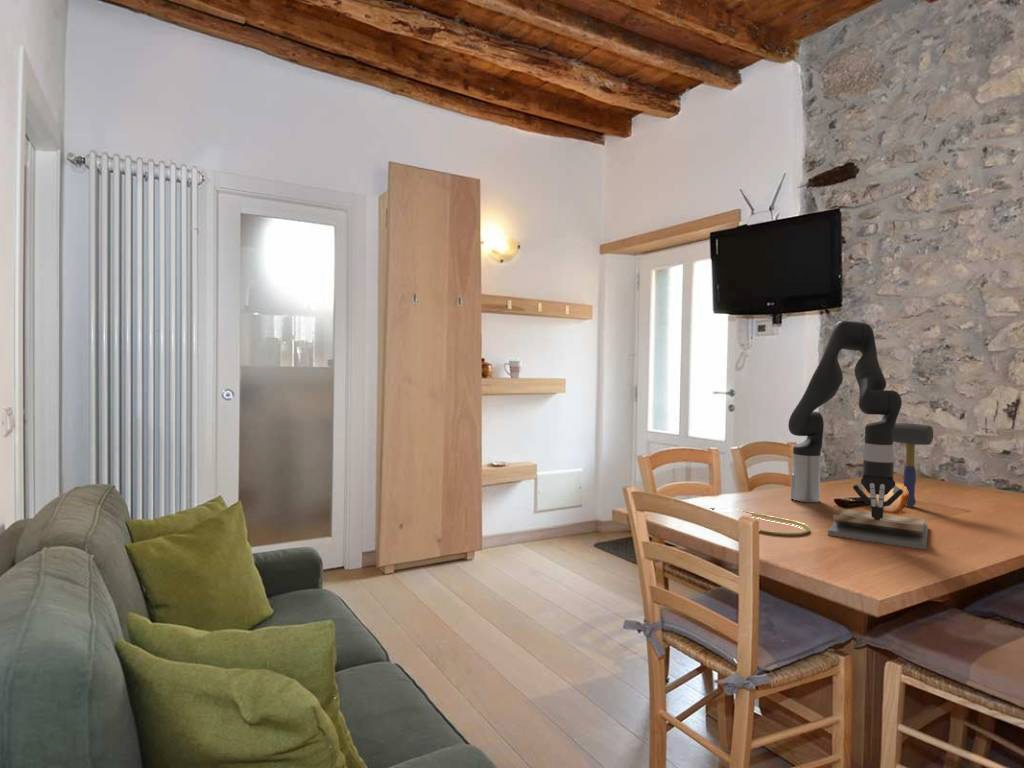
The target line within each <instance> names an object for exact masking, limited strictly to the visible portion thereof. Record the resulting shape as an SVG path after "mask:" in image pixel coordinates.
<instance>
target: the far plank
mask: <svg viewBox="0 0 1024 768" xmlns="http://www.w3.org/2000/svg"><path fill="white" fill-rule="evenodd" d="M840 512H841V513H839V514H845V515H853V516H861V517H868V518H873V517H872V516H871V512H869V511H860V510H853V509H845V508H843V509H842V510H841V511H840ZM880 519H881V518H880ZM882 519H883V520H891V521H899V522H906V523H914V524H922V525H923V528H924V523H925V519H923V518H915V517H908V516H902V515H901V516H900V515H893V514H886V513H885V514H884V513H883V518H882Z"/></svg>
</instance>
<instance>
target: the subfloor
mask: <svg viewBox="0 0 1024 768" xmlns="http://www.w3.org/2000/svg"><path fill="white" fill-rule="evenodd" d="M841 512H842V511H840V513H841ZM840 513H839V514H838V515H845V514H840ZM845 516H853V515H845ZM853 517H860V518H868V517H861V516H853ZM868 519H874V518H868ZM880 520H883V519H880ZM883 521H891V520H883ZM891 522H898V523H906V522H899V521H891ZM906 524H913V525H921V526H923V525H922V524H914V523H906ZM928 524H929V523H926V522H924V528H923V536H921V535H914V534H907V533H900V532H892V531H885V530H878V529H871V528H864V527H857V526H850V525H842V524H836V523H835V521H834V520H833V523H832V524H831V526H830V527H829V528H828V530H827V536H829V537H836V536H838V537H837V538H843V537H845V539H849V538H852V540H856V539H858V540H857V541H863V542H864V541H865V542H869V541H871V542H870V543H876V542H878V543H877V544H883V543H884V544H883V545H889V546H896V545H897V547H903V546H906V547H905V548H909V547H912V548H911V549H916V548H918V549H917V550H922V549H925V550H924V551H927V544H928V543H927V542H928V529H929V528H928V527H929V525H928Z"/></svg>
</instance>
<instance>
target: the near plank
mask: <svg viewBox="0 0 1024 768" xmlns="http://www.w3.org/2000/svg"><path fill="white" fill-rule="evenodd" d="M832 518H833V519H832V520H833V522H834V521H835V523H836V524H842V525H850V526H857V527H864V528H871V529H878V530H885V531H892V532H900V533H907V534H914V535H921V536H923V526H921V525H913V524H906V523H898V522H891V521H883V520H875V519H868V518H860V517H853V516H845V515H839V514H836V513H833V515H832Z"/></svg>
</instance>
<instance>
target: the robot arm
mask: <svg viewBox="0 0 1024 768" xmlns="http://www.w3.org/2000/svg"><path fill="white" fill-rule="evenodd" d="M842 350H845V351H846V350H848V351H855V352H856V351H858V352H860V353H861V357H860V358H859V359H858V361H857V362H856V363H855V365H854V366H855V367H854V377H855V379H856V381H857V384H858V387H859V388H858V390H859V396H858V397H859V398H858V408H859V409H860V410H861V411H860V412H862V413H863V414H866V415H875V416H876V415H877V416H878V415H879V416H881V415H882V416H883V417H882V418H881V420H880V421H874V422H870V423H867V424H866V425H865V427H864V446H863V455H862V460H863V463H862V466H863V467H862V468H863V469H862V477H861V479H860V482H858V483H857V484H854V485H853V487H852V488H853V490H854V492H856V494H857V495H858V496H859V498H860V499H861V500H862V502H863V503H865V504H866V505H870V506H871V509H870V510H871V512H870V513H871V516H872V517H873V518H874V519H875V520H880V518H881V519H882V518H883V514H884V508H885V507H889V506H891V505H892V504H893V503H894V502H895V501H896V500H897V499H898V498H899V497H901V496H902V495H903V494H904V488H903V489H902V488H900V487H899V486H897V484H896V481H895V480H894V472H895V471H894V466H895V465H894V464H895V463H894V462H895V450H894V442H893V432H894V427H895V423H897V419H898V417H899V414H900V412H901V409H902V398H901V395H900V394H899V392H897V391H895V390H892V389H891V390H886V387H887V381H886V378H885V376H884V374H883V373H884V372H883V371H882V368H881V366H880V364H879V359H878V352H877V346H876V340H875V335H874V331H873V328H872V326H871V325H870V324H868V323H866V322H861V321H850V320H840V321H838V322H836V324H835V325H834V327H833V328H832V331H831V333H830V336H829V339H828V341H827V343H826V346H825V349H824V352H823V354H822V356H821V358H820V361H819V362H818V365H817V366H816V368H815V371H814V372H813V375H811V378H810V380H809V383H808V385H807V387H806V389H805V391H804V393H803V396H802V397H801V399H800V400H799V401H798V403H797V405H796V406H795V408H794V409H793V411H792V412H791V415H790V417H789V420H788V424H787V425H788V430H789V433H790V434H791V435H794V436H797V437H806V439H805V440H804V441H802V442H800V443H798V444H794V446H793V448H792V450H793V451H792V473H791V475H790V477H791V478H790V480H791V481H790V500H791V499H793V501H796V500H797V501H798V502H802V503H819V502H820V497H821V496H820V490H821V489H820V487H821V486H820V485H821V482H820V481H821V452H822V449H823V439H824V427H825V423H824V417H823V415H822V414H821V413H820V412H819V411H815V410H816V409H818V408H820V407H821V406H823V405H824V404H826V403H827V402H829V401H830V400H831V399H833V398H834V397H835V396H836V394H837V393H838V391H839V389H840V386H841V385H842V383H843V378H844V375H843V372H842V368H841V365H840V363H839V358H838V357H839V354H840V352H841V351H842ZM863 489H865V490H866V492H867V493H868V494H870V498H869V497H868V496H867V495H866V494H865V492H864V491H863ZM891 490H892V495H891V496H890V497H889V498H888V499H887V500H886V501H885V498H886V497H885V496H886V495H888V494H889V493H890V492H891ZM877 495H878V501H877ZM797 501H796V502H797Z"/></svg>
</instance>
